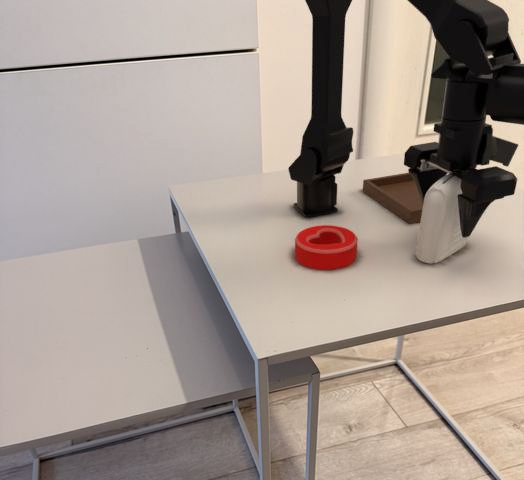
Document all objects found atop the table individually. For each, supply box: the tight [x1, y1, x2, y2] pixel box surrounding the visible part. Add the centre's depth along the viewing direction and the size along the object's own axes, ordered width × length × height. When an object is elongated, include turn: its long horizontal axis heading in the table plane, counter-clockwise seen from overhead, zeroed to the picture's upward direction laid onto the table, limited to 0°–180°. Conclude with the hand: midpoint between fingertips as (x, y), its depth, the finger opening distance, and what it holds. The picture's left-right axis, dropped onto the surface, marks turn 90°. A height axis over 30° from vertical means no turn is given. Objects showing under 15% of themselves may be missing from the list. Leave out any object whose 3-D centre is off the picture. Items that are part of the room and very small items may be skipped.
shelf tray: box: [362, 172, 423, 225], centre depth 101 cm, size 14×18×2 cm
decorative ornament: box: [294, 224, 359, 271], centre depth 84 cm, size 10×10×3 cm
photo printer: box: [415, 173, 469, 265], centre depth 81 cm, size 10×4×12 cm, turn 134°
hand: (447, 225), depth 81 cm, fingers open, 9 cm apart
